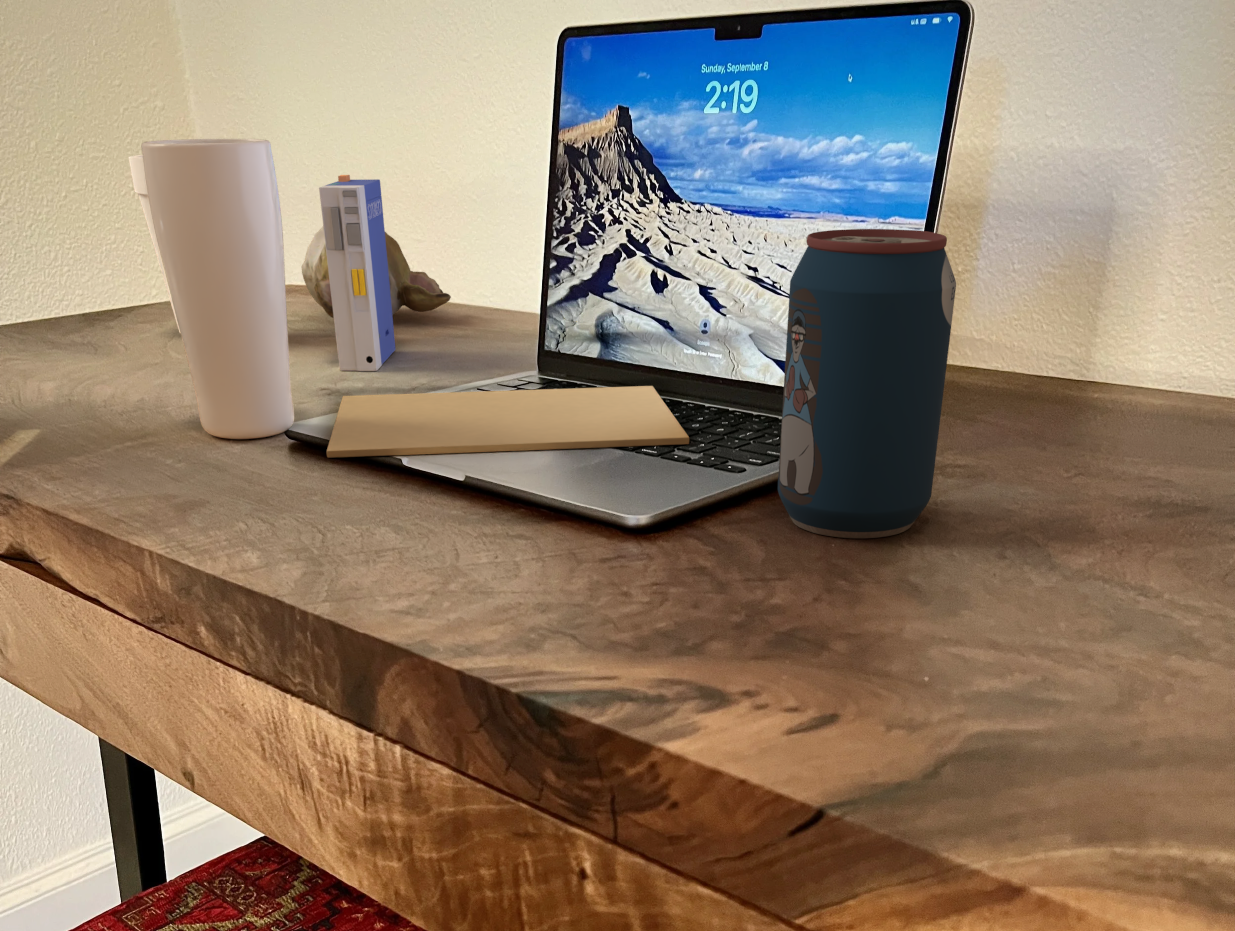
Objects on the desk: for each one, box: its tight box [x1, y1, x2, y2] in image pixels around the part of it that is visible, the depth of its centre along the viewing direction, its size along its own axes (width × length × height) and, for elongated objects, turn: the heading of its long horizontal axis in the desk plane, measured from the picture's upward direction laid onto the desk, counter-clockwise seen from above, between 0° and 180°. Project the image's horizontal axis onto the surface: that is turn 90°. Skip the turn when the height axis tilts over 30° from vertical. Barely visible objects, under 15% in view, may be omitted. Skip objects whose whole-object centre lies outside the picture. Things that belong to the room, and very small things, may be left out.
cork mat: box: [326, 385, 690, 459], centre depth 76 cm, size 20×14×1 cm
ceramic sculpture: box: [301, 226, 452, 319], centre depth 107 cm, size 11×9×15 cm
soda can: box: [777, 228, 957, 539], centre depth 55 cm, size 7×7×12 cm
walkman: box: [318, 174, 397, 372], centre depth 90 cm, size 8×3×12 cm, turn 179°
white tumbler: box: [140, 138, 295, 440], centre depth 70 cm, size 7×7×15 cm
